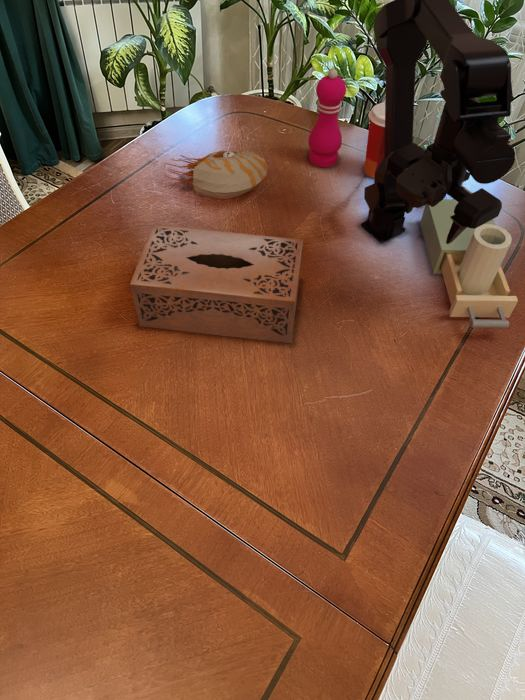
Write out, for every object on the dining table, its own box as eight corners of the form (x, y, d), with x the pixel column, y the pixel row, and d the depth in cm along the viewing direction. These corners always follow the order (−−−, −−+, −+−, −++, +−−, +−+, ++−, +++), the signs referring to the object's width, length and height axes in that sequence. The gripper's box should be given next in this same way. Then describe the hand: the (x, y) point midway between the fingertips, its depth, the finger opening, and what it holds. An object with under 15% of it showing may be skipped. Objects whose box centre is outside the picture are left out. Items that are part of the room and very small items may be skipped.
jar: (458, 295, 100) (478, 248, 91) (452, 271, 103) (470, 223, 95) (492, 296, 100) (515, 249, 91) (485, 272, 103) (506, 224, 95)
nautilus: (155, 199, 118) (183, 162, 128) (254, 215, 114) (275, 175, 123) (148, 164, 112) (178, 128, 122) (252, 180, 108) (275, 141, 117)
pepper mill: (337, 170, 125) (349, 80, 109) (304, 166, 126) (312, 76, 110) (341, 152, 129) (353, 62, 113) (309, 148, 130) (317, 58, 114)
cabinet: (494, 274, 106) (505, 250, 101) (433, 273, 106) (441, 249, 101) (476, 223, 115) (485, 199, 110) (419, 223, 115) (427, 198, 110)
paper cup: (397, 165, 127) (411, 105, 115) (390, 185, 122) (405, 124, 111) (363, 158, 128) (373, 97, 117) (355, 177, 123) (365, 116, 112)
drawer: (515, 336, 96) (525, 320, 92) (455, 335, 95) (462, 319, 92) (489, 263, 106) (497, 246, 103) (435, 262, 106) (441, 245, 103)
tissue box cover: (299, 281, 104) (303, 239, 96) (291, 343, 95) (295, 302, 87) (160, 267, 105) (152, 224, 98) (139, 326, 97) (129, 284, 89)
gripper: (369, 128, 83) (353, 214, 95) (465, 194, 74) (434, 280, 86) (423, 106, 87) (402, 191, 100) (521, 166, 78) (484, 252, 90)
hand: (428, 227), depth 94 cm, fingers open, 9 cm apart
